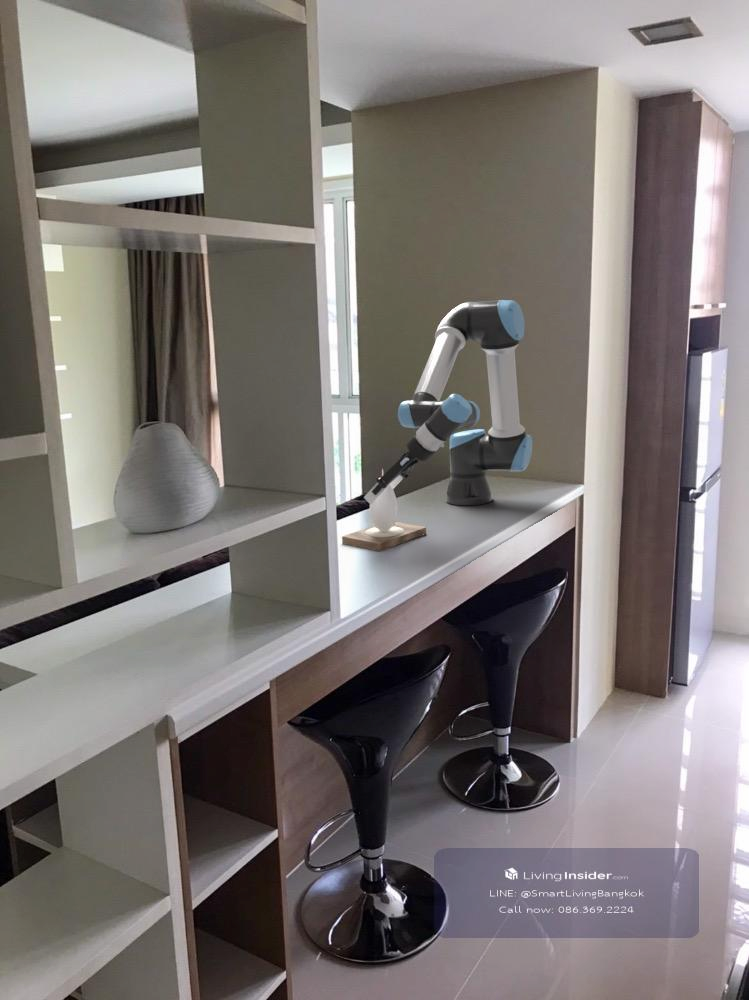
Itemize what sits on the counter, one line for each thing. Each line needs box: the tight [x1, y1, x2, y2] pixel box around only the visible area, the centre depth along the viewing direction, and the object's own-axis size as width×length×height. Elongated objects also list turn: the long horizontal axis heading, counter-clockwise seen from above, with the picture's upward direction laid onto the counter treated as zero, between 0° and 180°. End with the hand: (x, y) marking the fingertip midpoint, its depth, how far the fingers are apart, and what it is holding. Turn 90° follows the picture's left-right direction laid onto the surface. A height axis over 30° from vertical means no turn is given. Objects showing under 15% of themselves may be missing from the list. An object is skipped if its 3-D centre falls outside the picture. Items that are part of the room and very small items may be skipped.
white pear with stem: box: [369, 468, 399, 532], centre depth 232 cm, size 8×8×18 cm
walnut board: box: [341, 521, 427, 552], centre depth 235 cm, size 20×14×2 cm
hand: (376, 495), depth 233 cm, fingers open, 13 cm apart
